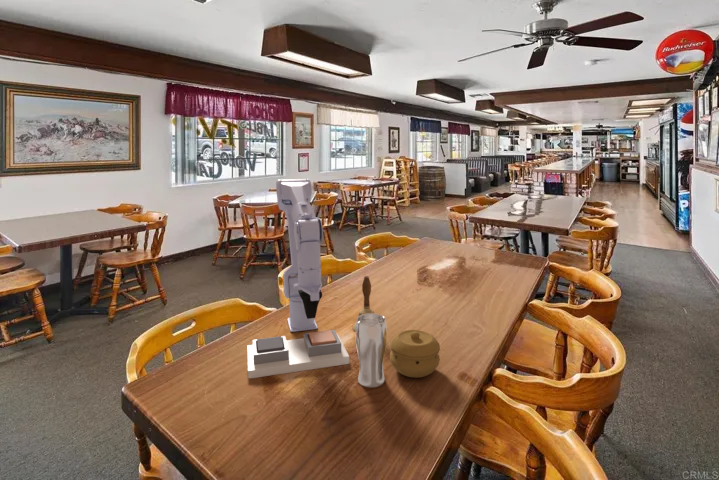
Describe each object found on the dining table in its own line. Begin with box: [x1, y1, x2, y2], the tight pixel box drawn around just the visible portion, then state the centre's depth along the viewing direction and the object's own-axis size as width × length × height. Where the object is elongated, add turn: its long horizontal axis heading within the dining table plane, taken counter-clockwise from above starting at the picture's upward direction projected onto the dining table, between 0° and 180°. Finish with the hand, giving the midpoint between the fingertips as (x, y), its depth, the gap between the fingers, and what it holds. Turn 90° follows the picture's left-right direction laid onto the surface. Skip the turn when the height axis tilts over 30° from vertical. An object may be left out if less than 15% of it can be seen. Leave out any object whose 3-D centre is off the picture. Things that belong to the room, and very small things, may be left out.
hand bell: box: [352, 275, 375, 333], centre depth 118 cm, size 8×8×16 cm
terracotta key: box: [307, 329, 336, 346], centre depth 104 cm, size 6×6×3 cm
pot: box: [389, 329, 441, 379], centre depth 96 cm, size 12×12×10 cm
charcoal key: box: [256, 335, 284, 353], centre depth 101 cm, size 6×6×3 cm
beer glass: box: [355, 312, 388, 389], centre depth 91 cm, size 7×7×15 cm
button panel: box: [246, 329, 350, 380], centre depth 103 cm, size 13×24×4 cm, turn 106°
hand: (310, 317), depth 105 cm, fingers closed
